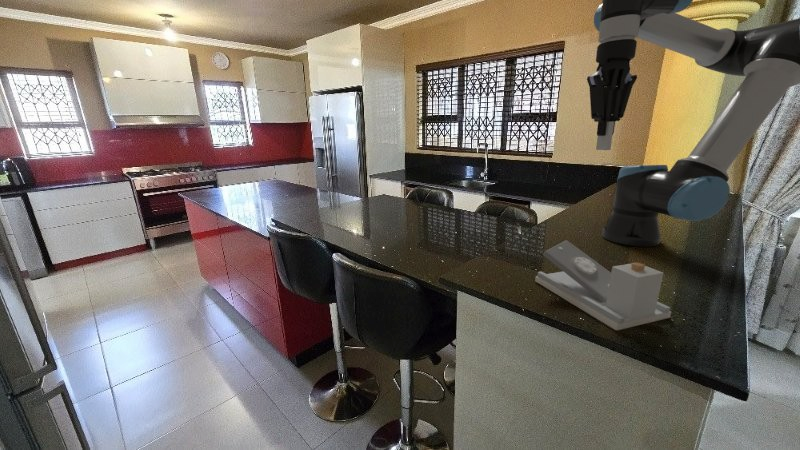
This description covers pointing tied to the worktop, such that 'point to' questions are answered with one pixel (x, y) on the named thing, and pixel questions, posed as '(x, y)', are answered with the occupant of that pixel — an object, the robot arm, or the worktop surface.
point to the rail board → (615, 295)
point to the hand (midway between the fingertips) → (603, 149)
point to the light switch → (580, 268)
